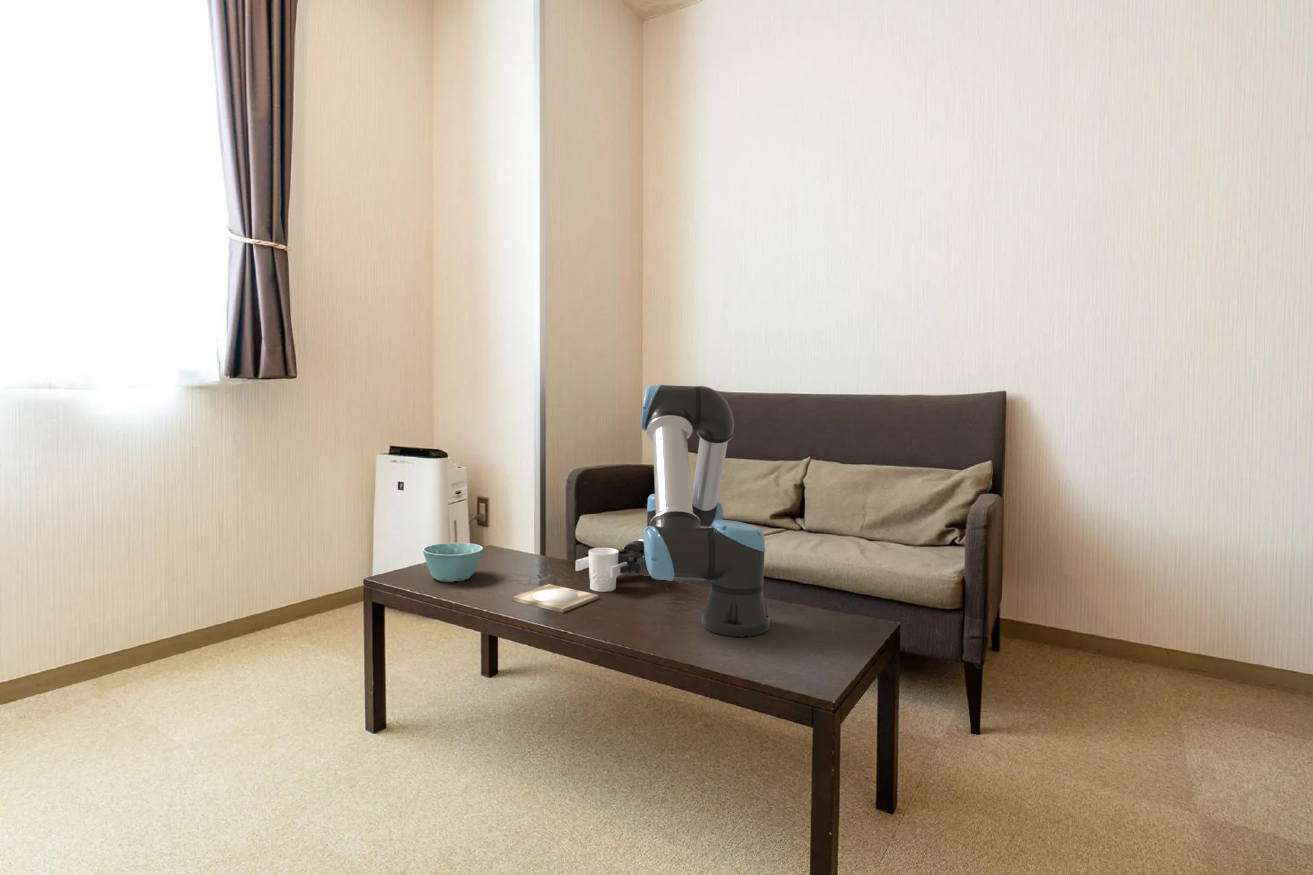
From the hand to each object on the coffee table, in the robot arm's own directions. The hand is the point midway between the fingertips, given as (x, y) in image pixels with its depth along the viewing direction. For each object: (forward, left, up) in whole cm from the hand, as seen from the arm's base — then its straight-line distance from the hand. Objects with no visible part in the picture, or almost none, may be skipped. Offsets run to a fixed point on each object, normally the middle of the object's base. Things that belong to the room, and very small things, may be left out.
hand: (593, 568), depth 183 cm
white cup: (+2, -4, -6) cm, 7 cm away
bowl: (+30, +27, -6) cm, 41 cm away
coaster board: (-1, +11, -6) cm, 13 cm away
